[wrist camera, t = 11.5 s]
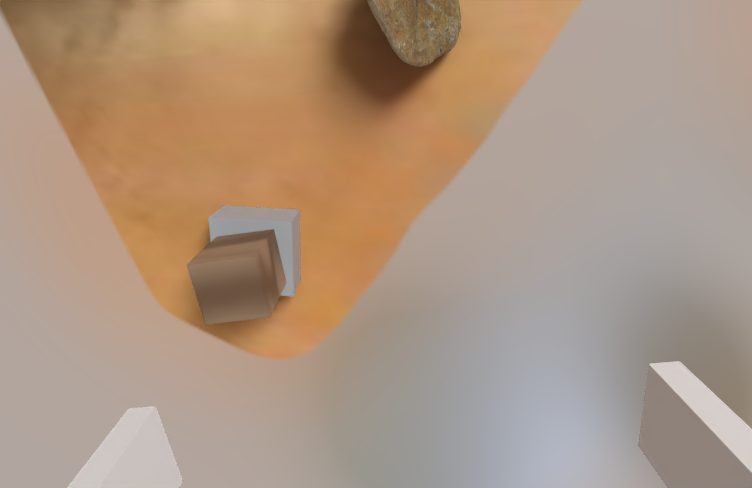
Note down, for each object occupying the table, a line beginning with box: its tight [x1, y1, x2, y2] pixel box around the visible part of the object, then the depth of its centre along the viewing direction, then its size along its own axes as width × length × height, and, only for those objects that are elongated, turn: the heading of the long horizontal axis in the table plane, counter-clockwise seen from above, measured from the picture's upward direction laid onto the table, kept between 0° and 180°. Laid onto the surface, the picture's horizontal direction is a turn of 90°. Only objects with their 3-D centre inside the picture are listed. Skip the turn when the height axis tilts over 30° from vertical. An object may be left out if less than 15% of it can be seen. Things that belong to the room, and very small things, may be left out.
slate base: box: [208, 206, 301, 296], centre depth 39 cm, size 7×7×4 cm
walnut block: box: [187, 229, 286, 325], centre depth 35 cm, size 5×5×6 cm
